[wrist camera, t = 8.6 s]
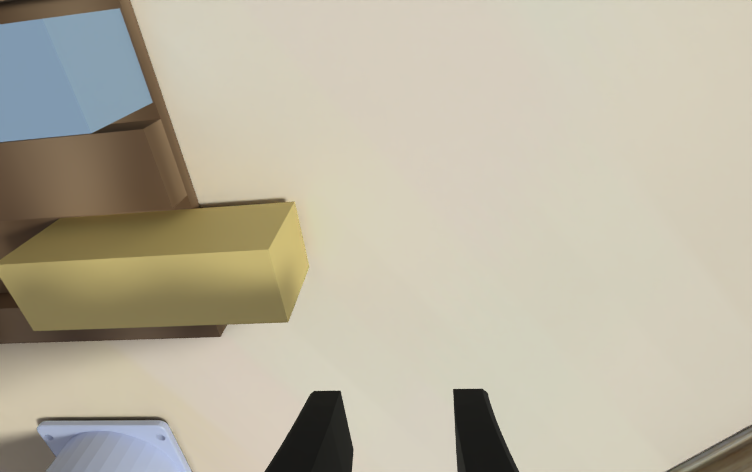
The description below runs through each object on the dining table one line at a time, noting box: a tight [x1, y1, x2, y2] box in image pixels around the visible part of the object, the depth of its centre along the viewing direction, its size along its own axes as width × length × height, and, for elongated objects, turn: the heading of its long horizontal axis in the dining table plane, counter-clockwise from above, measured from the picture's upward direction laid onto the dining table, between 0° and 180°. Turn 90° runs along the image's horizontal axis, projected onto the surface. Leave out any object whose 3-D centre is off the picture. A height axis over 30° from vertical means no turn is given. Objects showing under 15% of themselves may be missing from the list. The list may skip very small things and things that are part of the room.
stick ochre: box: [0, 202, 309, 331], centre depth 18 cm, size 10×3×4 cm, turn 97°
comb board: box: [0, 0, 227, 344], centre depth 17 cm, size 12×15×3 cm
